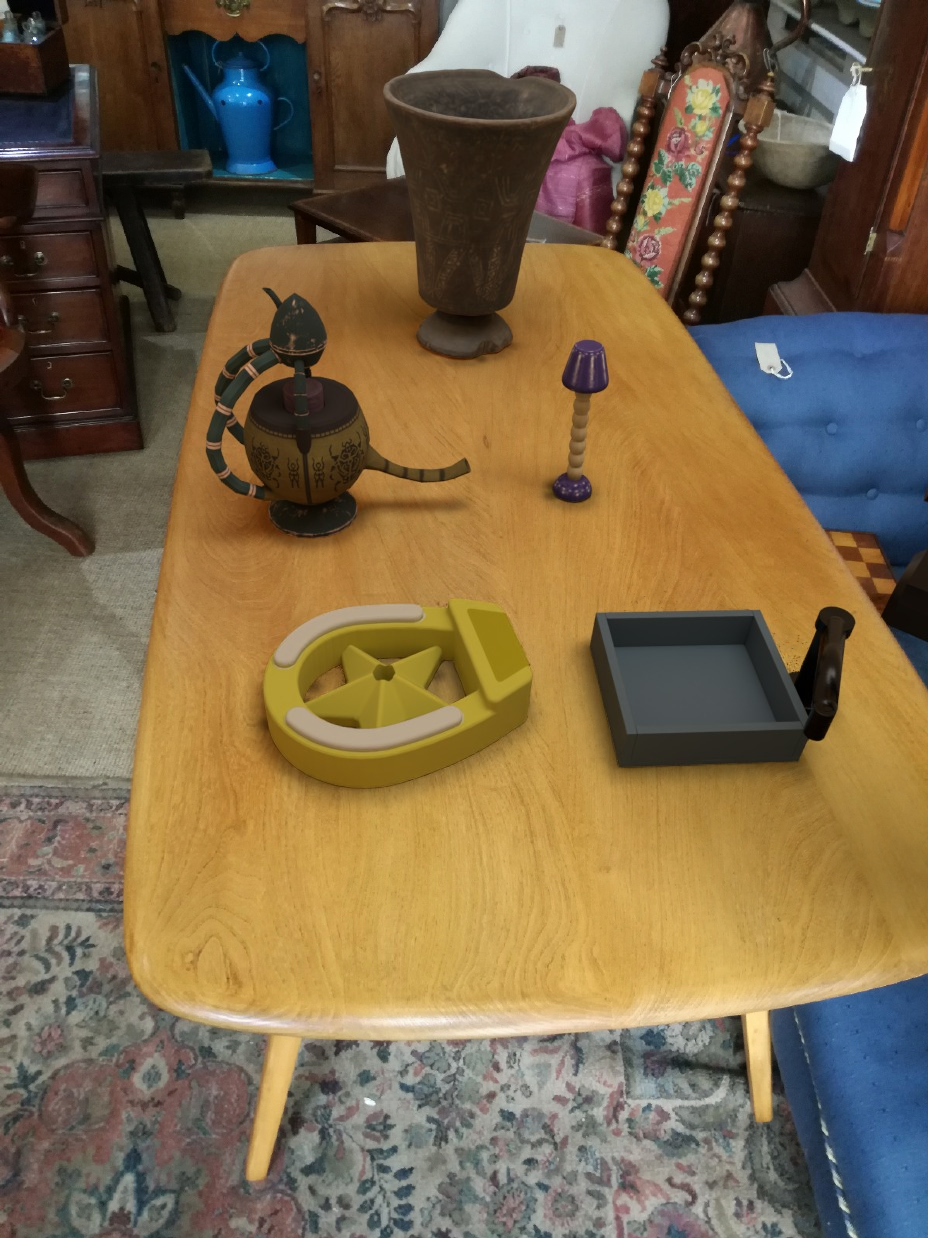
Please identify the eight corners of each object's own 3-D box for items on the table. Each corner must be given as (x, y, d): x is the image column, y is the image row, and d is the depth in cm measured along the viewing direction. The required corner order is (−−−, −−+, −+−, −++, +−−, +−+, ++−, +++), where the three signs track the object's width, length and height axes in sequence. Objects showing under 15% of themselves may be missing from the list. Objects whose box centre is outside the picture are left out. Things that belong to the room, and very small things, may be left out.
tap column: (829, 685, 81) (859, 619, 75) (829, 722, 78) (860, 656, 72) (777, 674, 81) (803, 608, 76) (775, 710, 78) (802, 644, 73)
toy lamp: (541, 493, 100) (558, 348, 89) (558, 472, 103) (577, 329, 92) (582, 506, 98) (605, 361, 87) (598, 485, 102) (622, 342, 90)
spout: (809, 629, 77) (821, 599, 74) (844, 638, 76) (858, 608, 74) (793, 735, 68) (806, 705, 66) (832, 746, 67) (847, 716, 65)
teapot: (229, 480, 99) (195, 264, 84) (462, 473, 102) (472, 263, 86) (220, 551, 91) (180, 325, 75) (475, 542, 93) (488, 321, 77)
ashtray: (545, 753, 74) (552, 711, 70) (282, 807, 69) (276, 765, 66) (484, 616, 85) (487, 574, 82) (255, 654, 81) (248, 612, 77)
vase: (352, 336, 125) (342, 84, 104) (461, 290, 137) (471, 56, 116) (475, 396, 114) (490, 130, 94) (580, 341, 126) (614, 94, 106)
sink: (748, 642, 84) (760, 609, 81) (798, 762, 74) (813, 728, 72) (589, 646, 83) (595, 612, 80) (618, 767, 73) (627, 734, 70)
